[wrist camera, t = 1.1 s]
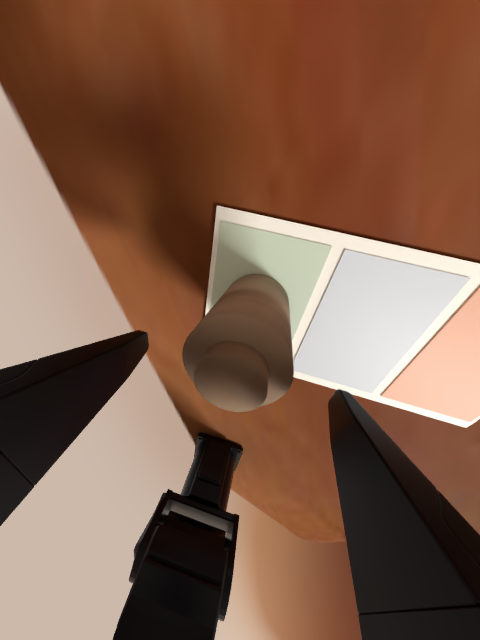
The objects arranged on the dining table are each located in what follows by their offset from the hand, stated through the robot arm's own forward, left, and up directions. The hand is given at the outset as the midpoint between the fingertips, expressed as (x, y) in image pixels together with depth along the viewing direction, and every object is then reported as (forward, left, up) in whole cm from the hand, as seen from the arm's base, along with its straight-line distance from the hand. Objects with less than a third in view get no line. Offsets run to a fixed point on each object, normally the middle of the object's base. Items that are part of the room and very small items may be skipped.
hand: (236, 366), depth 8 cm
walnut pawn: (0, 0, -7) cm, 7 cm away
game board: (0, -8, -7) cm, 11 cm away
